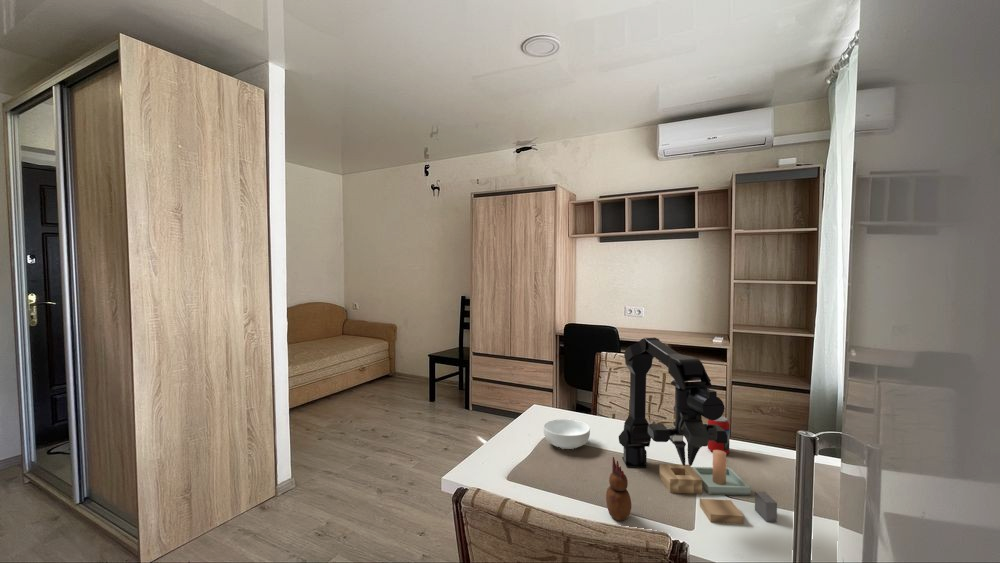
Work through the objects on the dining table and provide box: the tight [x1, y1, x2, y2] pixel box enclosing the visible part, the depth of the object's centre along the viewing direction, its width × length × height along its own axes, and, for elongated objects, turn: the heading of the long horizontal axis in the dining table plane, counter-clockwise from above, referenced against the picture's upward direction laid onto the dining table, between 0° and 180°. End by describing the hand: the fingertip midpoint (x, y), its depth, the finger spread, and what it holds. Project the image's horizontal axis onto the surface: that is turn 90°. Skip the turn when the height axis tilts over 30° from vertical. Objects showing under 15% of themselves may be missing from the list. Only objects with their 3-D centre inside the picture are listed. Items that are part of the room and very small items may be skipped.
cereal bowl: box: [543, 418, 591, 450], centre depth 147 cm, size 17×17×7 cm
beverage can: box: [707, 415, 730, 455], centre depth 141 cm, size 7×7×12 cm
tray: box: [691, 466, 752, 496], centre depth 120 cm, size 12×12×2 cm
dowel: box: [712, 450, 727, 485], centre depth 120 cm, size 4×4×9 cm
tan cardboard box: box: [699, 498, 745, 525], centre depth 105 cm, size 8×7×2 cm
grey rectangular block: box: [754, 491, 778, 523], centre depth 104 cm, size 3×5×5 cm, turn 176°
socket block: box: [659, 463, 703, 494], centre depth 119 cm, size 9×9×4 cm
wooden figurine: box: [605, 456, 632, 522], centre depth 104 cm, size 7×6×15 cm
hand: (686, 465), depth 105 cm, fingers closed
